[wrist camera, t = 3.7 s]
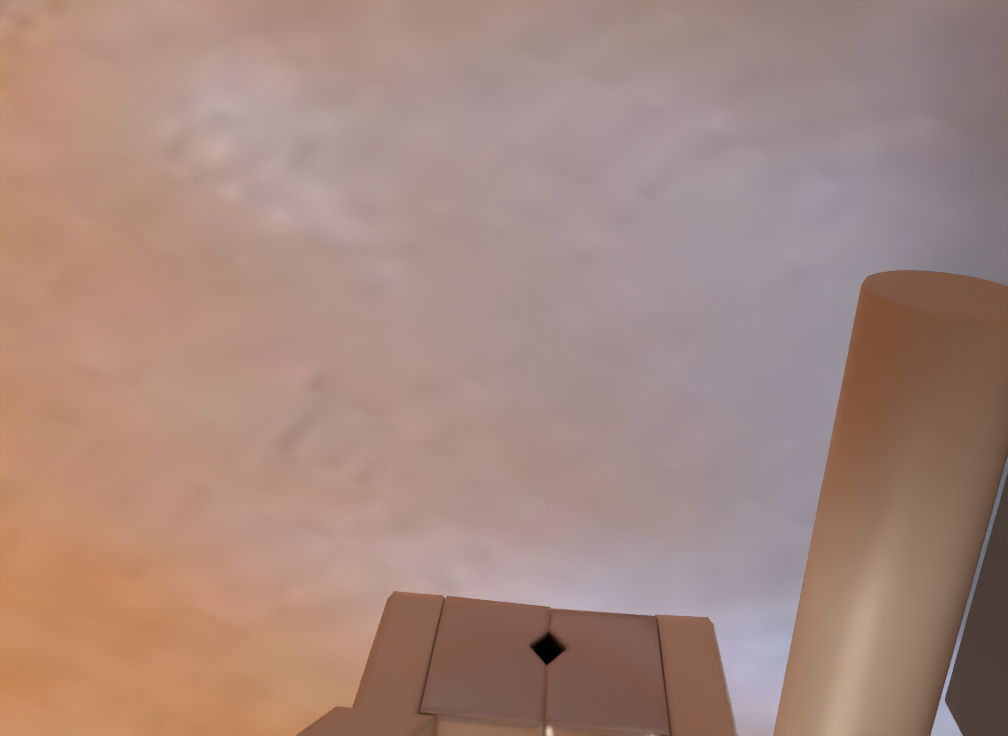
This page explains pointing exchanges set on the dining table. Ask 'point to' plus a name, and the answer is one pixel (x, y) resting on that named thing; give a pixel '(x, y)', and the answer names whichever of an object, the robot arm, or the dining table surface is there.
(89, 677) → the dining table surface
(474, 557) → the dining table surface
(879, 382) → the drawer
